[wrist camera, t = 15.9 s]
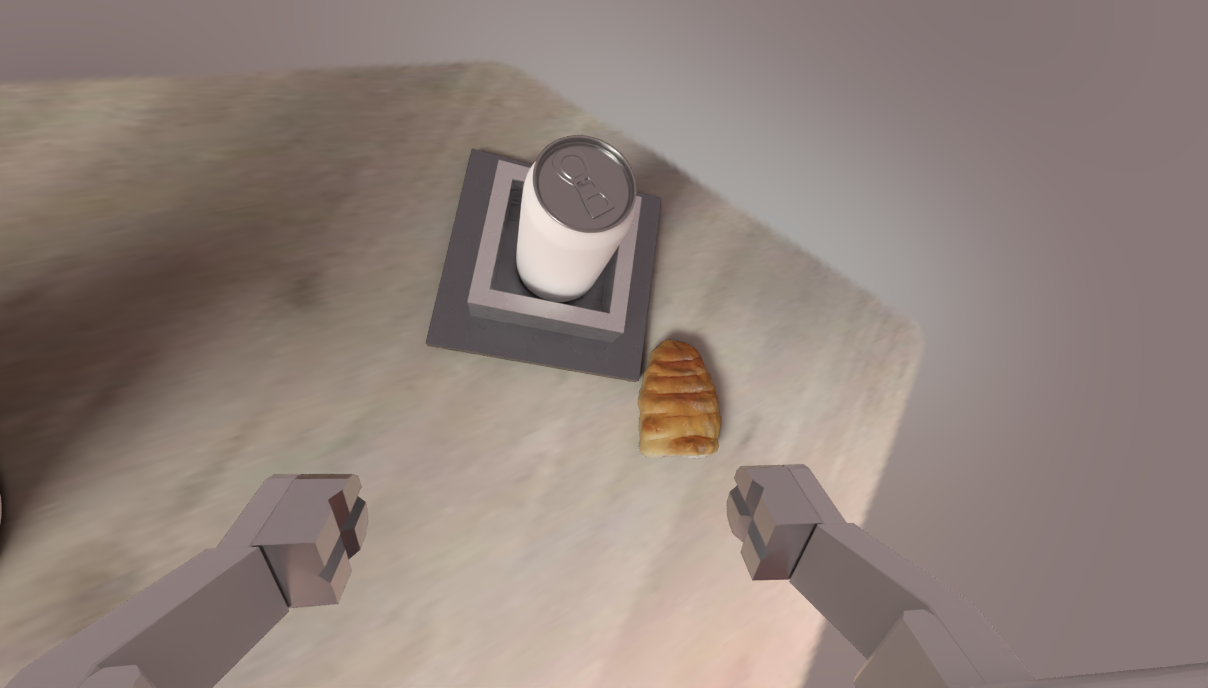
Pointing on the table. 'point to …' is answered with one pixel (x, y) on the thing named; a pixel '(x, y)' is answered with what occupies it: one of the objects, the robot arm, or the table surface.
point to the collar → (515, 314)
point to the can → (573, 216)
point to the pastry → (677, 404)
